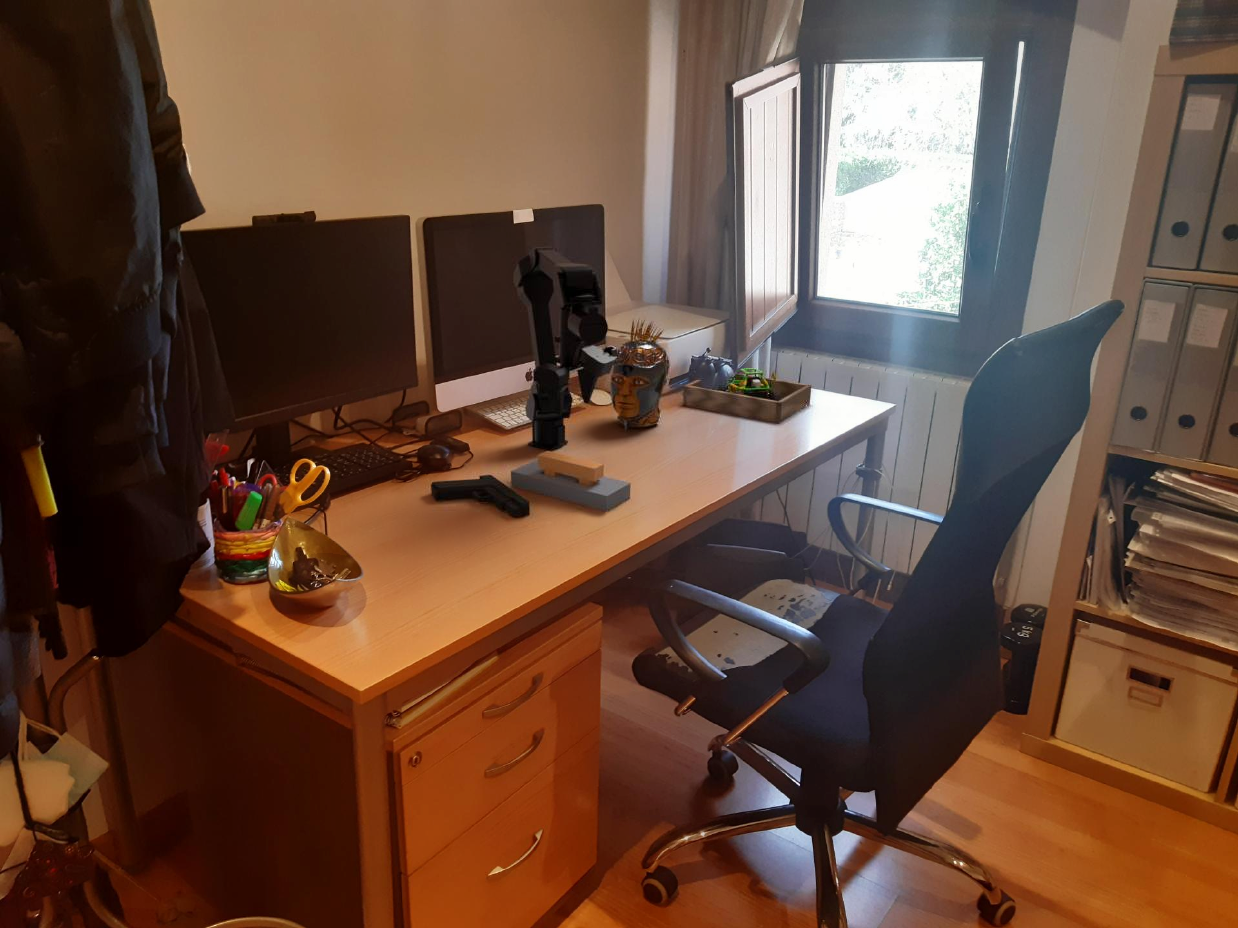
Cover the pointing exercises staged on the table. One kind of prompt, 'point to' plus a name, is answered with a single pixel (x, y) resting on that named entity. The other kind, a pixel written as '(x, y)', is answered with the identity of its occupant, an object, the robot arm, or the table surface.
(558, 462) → the wooden arch block
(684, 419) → the table surface
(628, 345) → the mask
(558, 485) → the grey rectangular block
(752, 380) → the motor vehicle
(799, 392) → the tray
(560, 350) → the robot arm
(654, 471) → the table surface
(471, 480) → the handgun
